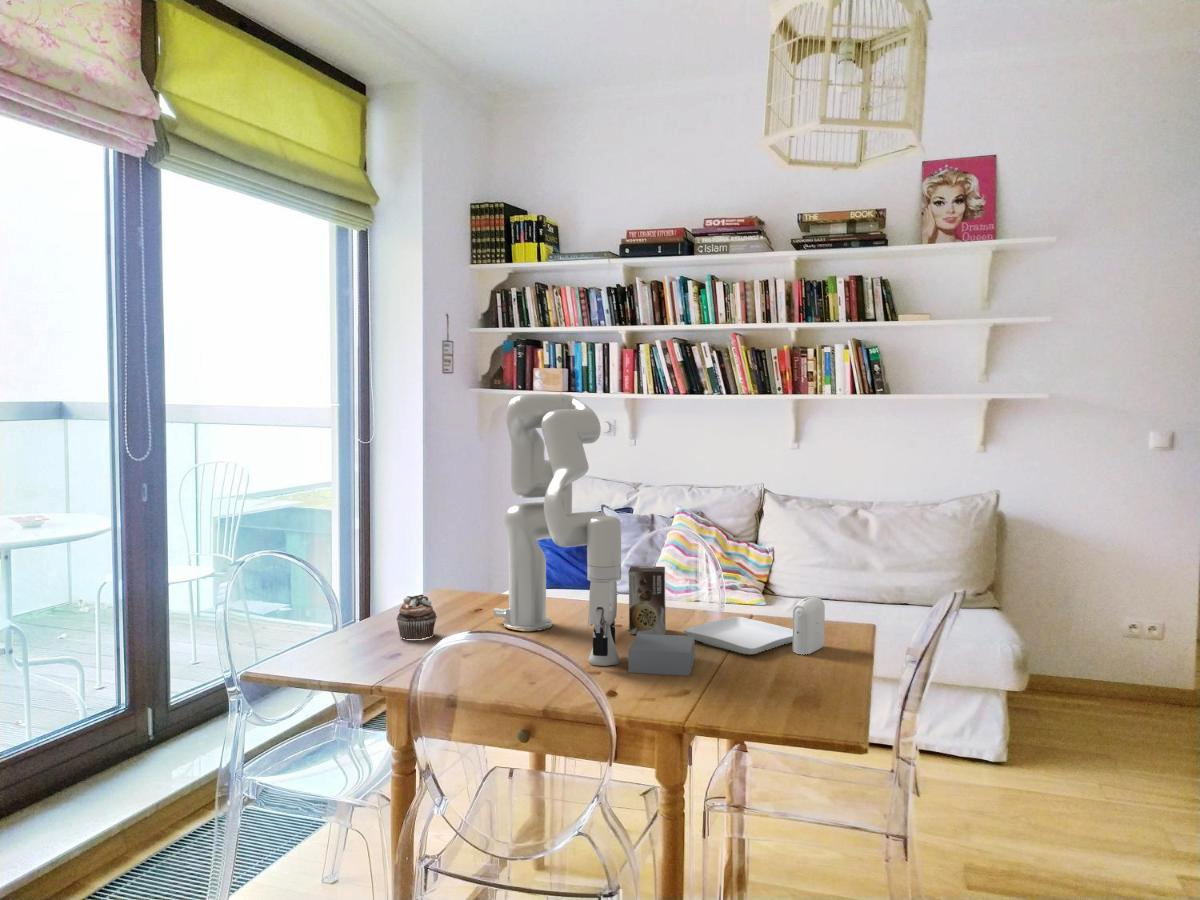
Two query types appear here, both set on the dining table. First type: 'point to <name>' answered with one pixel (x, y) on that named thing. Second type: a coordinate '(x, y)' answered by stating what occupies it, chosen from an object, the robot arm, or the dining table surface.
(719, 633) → the salad plate
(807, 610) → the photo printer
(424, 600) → the cupcake
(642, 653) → the slate block
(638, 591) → the coffee box
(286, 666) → the dining table surface
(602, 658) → the flask
